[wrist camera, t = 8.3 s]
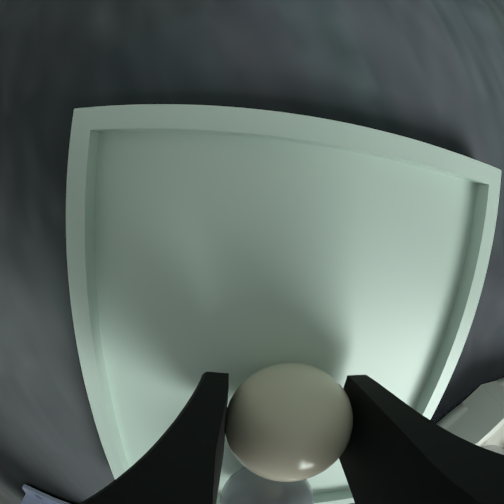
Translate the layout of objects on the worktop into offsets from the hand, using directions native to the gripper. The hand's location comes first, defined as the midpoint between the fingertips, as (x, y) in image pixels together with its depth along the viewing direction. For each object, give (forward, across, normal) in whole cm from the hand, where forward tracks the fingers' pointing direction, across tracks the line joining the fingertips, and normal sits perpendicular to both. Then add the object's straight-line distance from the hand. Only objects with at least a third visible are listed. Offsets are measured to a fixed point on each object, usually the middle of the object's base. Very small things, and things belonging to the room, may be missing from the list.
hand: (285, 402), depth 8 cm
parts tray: (+1, 0, 0) cm, 1 cm away
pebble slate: (+1, 0, +5) cm, 5 cm away
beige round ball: (+1, 0, 0) cm, 1 cm away
